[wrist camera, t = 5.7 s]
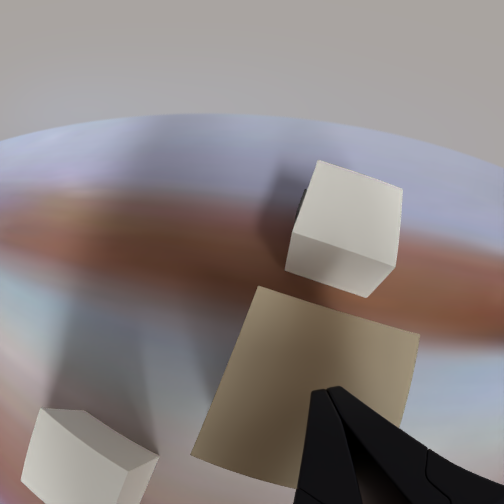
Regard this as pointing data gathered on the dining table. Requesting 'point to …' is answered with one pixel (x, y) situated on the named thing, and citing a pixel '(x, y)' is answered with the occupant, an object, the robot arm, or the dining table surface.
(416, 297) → the dining table surface
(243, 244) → the dining table surface
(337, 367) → the maple block
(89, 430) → the white block
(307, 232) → the white block
